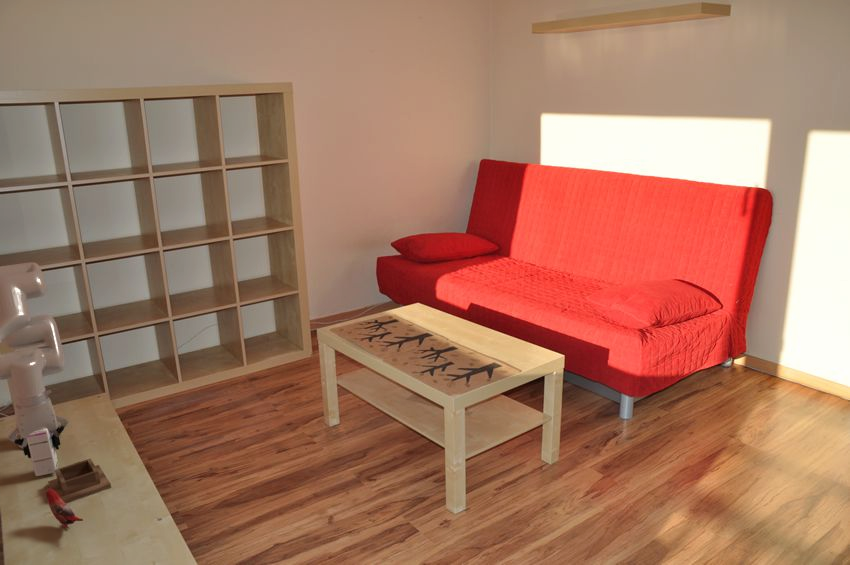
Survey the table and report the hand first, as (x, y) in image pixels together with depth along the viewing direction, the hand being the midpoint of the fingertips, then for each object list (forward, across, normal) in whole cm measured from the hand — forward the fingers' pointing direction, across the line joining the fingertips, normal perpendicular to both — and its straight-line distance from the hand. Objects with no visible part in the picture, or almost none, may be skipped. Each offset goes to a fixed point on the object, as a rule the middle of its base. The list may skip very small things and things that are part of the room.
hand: (43, 451), depth 205 cm
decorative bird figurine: (+7, +1, +36) cm, 36 cm away
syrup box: (+7, 0, 0) cm, 7 cm away
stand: (+7, -6, +15) cm, 17 cm away
